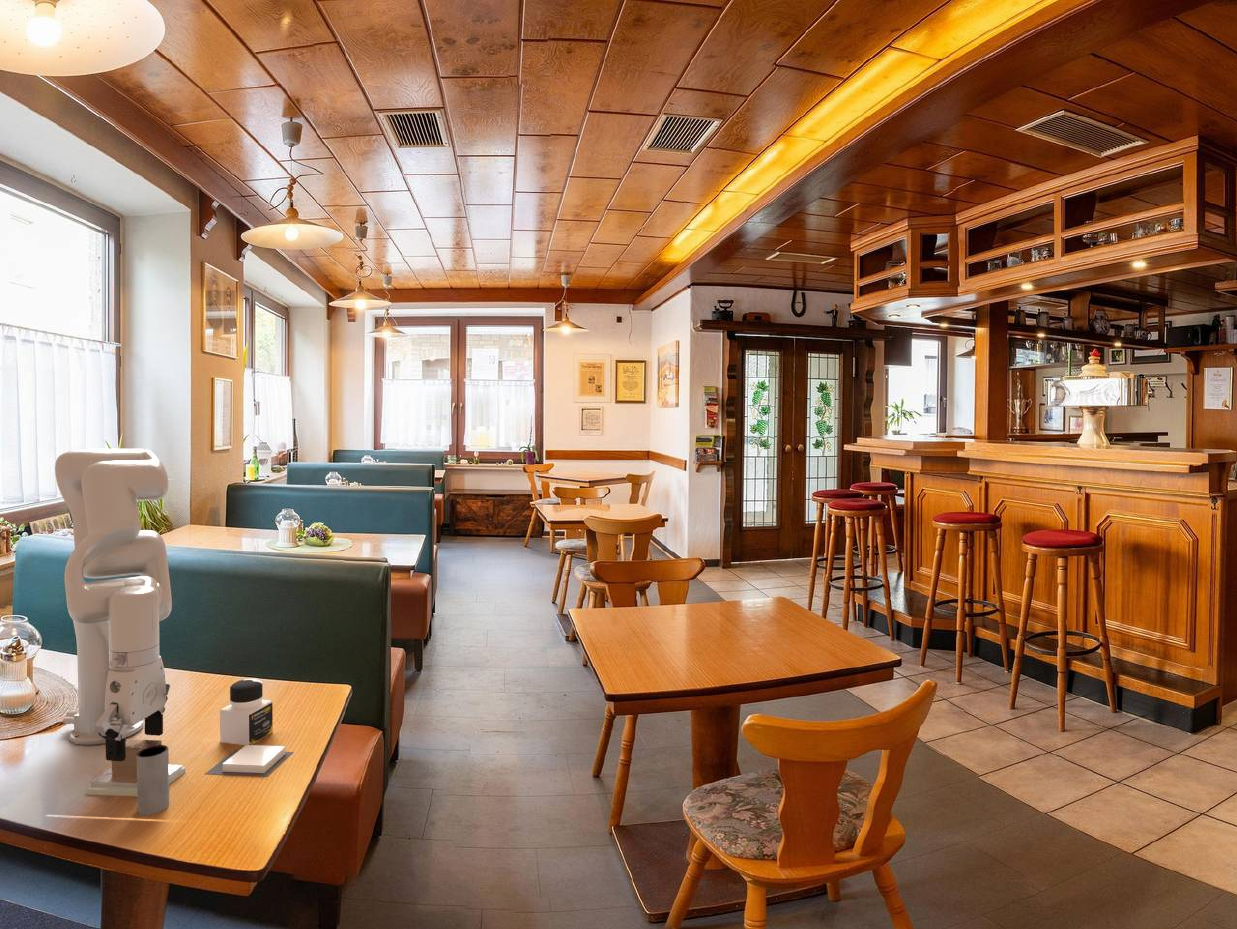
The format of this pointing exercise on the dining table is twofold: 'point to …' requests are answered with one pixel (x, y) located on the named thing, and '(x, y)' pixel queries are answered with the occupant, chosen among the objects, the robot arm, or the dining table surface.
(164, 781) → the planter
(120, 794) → the board
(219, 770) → the mat
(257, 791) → the dining table surface
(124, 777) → the float
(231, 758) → the tile
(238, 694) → the medicine bottle
